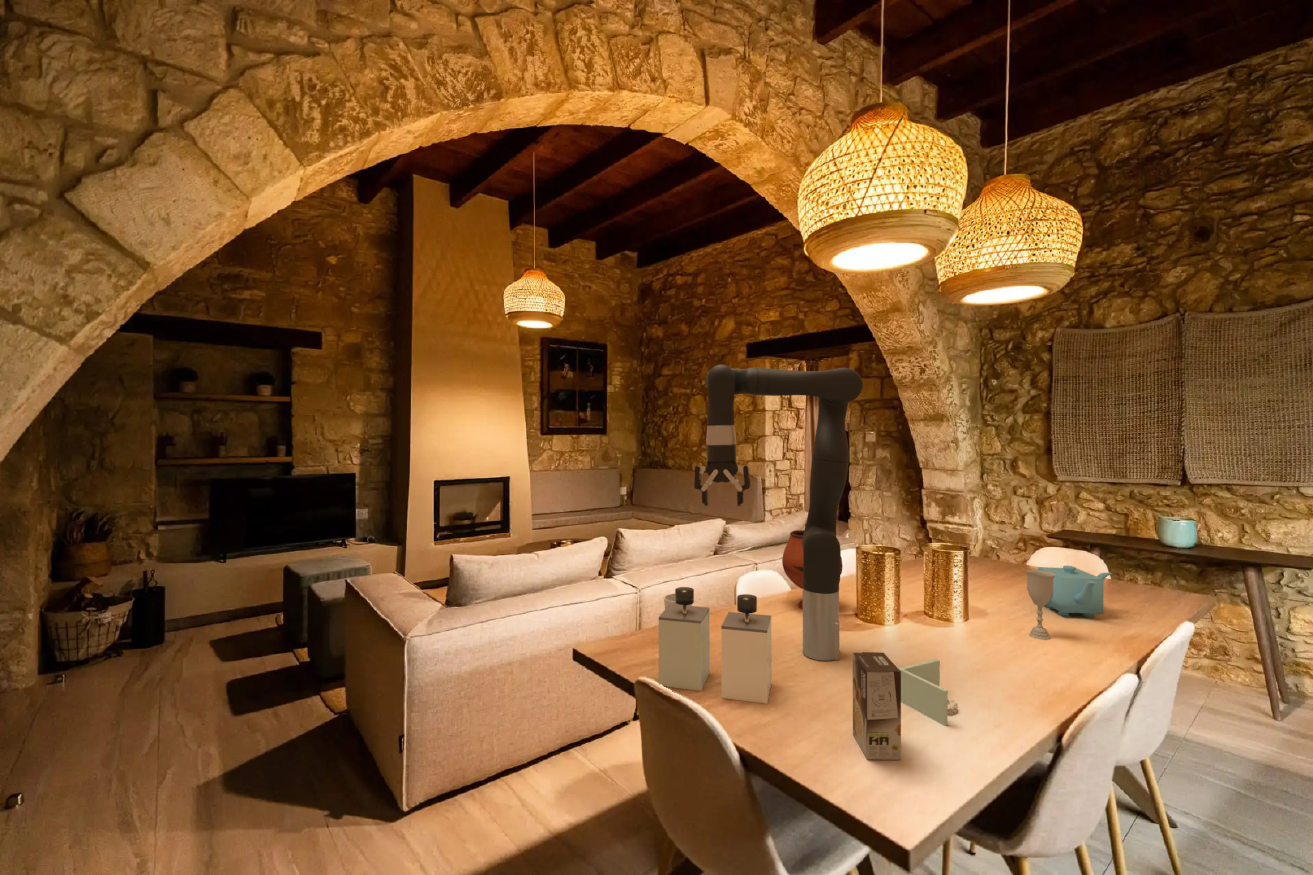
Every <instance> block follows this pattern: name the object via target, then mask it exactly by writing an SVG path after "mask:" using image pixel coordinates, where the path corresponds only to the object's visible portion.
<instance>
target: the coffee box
mask: <svg viewBox="0 0 1313 875" xmlns="http://www.w3.org/2000/svg"><path fill="white" fill-rule="evenodd" d="M851 654H852V655H851V656H852V736H853V737H854V739H855V740H856V742H857V744H858V746H859V748H860V749H861V751H862V752H863V754H864V756H865V758H866V759H867V760H874V761H875V760H880V761H881V760H887V761H891V760H892V761H895V760H896V761H900V760H901V758H902V732H901V731H902V702H901V671H900V670H899V669H898V668H899V667H898V666H897V665H896V664H895V663H893V661H892V660H891V659H890V658H889V656H887V655H886V654H885V653H884V652H882V651H881V652H878V651H877V652H876V651H865V652H864V651H863V652H852V653H851Z"/></svg>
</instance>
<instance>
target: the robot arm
mask: <svg viewBox="0 0 1313 875" xmlns="http://www.w3.org/2000/svg"><path fill="white" fill-rule="evenodd" d="M704 383H705V386H706V388H707V389H708V391H707V395H708V405H707V409H706V424H707V427H706V440H705V442H706V466H702V465H696V466H694V467H695V468H694V483H693V484H694V489H696V490H698V491H699V490H700V492H701V502H702V504H703V505H704V507H707V506H709V504H710V503H709V490H708V489H709V488H710V486H711V485H712V484H713V483H714V482H715V483H729V482H730V483H731V484H732V485H733V486H734V487H735V489H736V490H737V492H736V494H737V495H736V498H737V499H736V500H737V501H736V502H737V503H736V504H737V507H741V506H742V505H743V503H744V492H745V490H749V489H750V488H751V477H750V466H749V465H748V464H745V465H741V466H738V463H737V437H736V436H737V435H736V434H737V433H736V427H735V426H736V425H735V407H734V406H735V405H734V403H735V395H740V394H742V395H743V394H745V395H751V396H768V397H770V396H771V397H772V396H775V397H780V396H783V397H784V396H787V397H788V396H810V397H817V399H818V405H817V407H818V410H817V412H818V413H817V423H816V430H815V436H814V443H813V451H812V457H811V464H810V476H809V508H808V513H807V517H806V524H805V527H804V530H805V531H804V535H803V539H802V547H803V589H802V599H803V610H802V653H803V655H804V656H805V657H807V658H809V659H813V660H816V661H822V662H823V661H825V662H826V661H834V660H836V661H839V660H840V582H841V575H840V567H841V558H842V556H841V553H842V552H841V544H840V541H839V539H838V538H837V522H838V521H837V519H838V518H837V516H838V510H839V505H840V502H841V499H842V496H843V493H844V491H845V487H846V483H847V477H848V470H849V461H850V450H849V443H848V442H849V441H848V437H847V436H848V435H847V430H846V418H847V412H848V411H847V410H848V406H849V403H851V402H853V401H855V400H856V399H857V398H859V396H860V395H861V394H862V392H863V388H864V382H863V378H862V377H861V375H860V374H859V373H858V372H857V371H855V370H854V369H853V368H849V367H837V368H833V369H827V370H826V369H825V370H813V371H812V370H811V371H810V370H806V371H805V370H794V369H793V370H791V369H779V368H766V367H765V368H764V367H748V368H747V367H746V368H743V369H742V368H732V367H731V368H730V367H729V366H728V365H725V364H717V365H714V366H713V367H712V368H710V369H709V370H708V372H707V373H706V374H705V378H704ZM704 472H706V473H707V475H708V476H709V477H708V478H707V480H706V481H705V483H703V484H702V475H703V474H704ZM738 472H740V473H741V475H743V481H744V484H743V485H742V483H741V482H740V481H739V479H738V478H737V477H736V475H737V473H738Z"/></svg>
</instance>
